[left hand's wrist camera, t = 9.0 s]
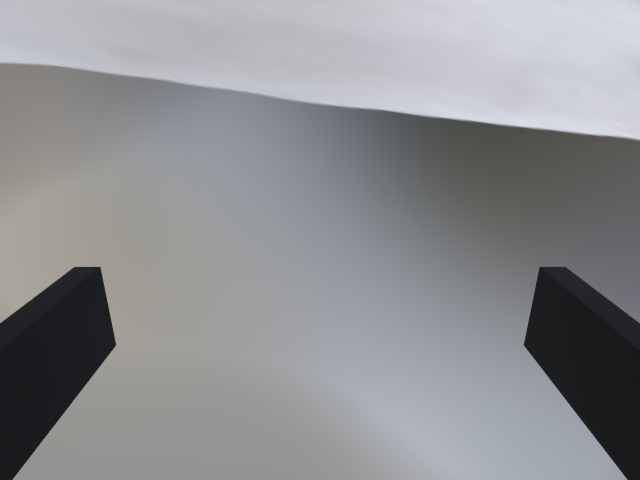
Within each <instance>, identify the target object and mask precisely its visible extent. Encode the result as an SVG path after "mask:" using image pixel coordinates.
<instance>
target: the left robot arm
mask: <svg viewBox="0 0 640 480" xmlns="http://www.w3.org/2000/svg"><path fill="white" fill-rule="evenodd" d="M115 346H116V342H115V337H114V332H113V327H112V322H111V317H110V313H109V308H108V303H107V298H106V293H105V288H104V283H103V278H102V273H101V268H100V267H74V268H73V269H71V270H70V271H69V272H67V273H66V274H65V275H63V276H62V277H61V278H60V279H58V280H57V281H56V282H54V283H53V284H52V285H50V286H49V287H48V288H46V289H45V290H44V291H42V292H41V293H40V294H38V295H37V296H36V297H34V298H33V299H32V300H31V301H29V302H28V303H27V304H25V305H24V306H23V307H21V308H20V309H19V310H17V311H16V312H15V313H13V314H12V315H11V316H9V317H8V318H7V319H5V320H4V321H3V322H1V323H0V480H12V479H13V478H14V477H15V476H16V474H17V473H18V472H19V470H20V469H21V468H22V467H23V465H24V464H25V463H26V461H27V460H28V459H29V457H30V456H31V455H32V454H33V452H34V451H35V450H36V448H37V447H38V446H39V444H40V443H41V442H42V441H43V439H44V438H45V437H46V435H47V434H48V433H49V431H50V430H51V429H52V428H53V426H54V425H55V424H56V422H57V421H58V420H59V419H60V417H61V416H62V415H63V413H64V412H65V411H66V409H67V408H68V407H69V406H70V404H71V403H72V402H73V400H74V399H75V398H76V396H77V395H78V394H79V393H80V391H81V390H82V389H83V387H84V386H85V385H86V384H87V382H88V381H89V380H90V378H91V377H92V376H93V375H94V373H95V372H96V371H97V369H98V368H99V367H100V365H101V364H102V363H103V362H104V360H105V359H106V358H107V356H108V355H109V354H110V352H111V351H112V350H113V349H114V347H115ZM524 346H525V347H526V349H527V350H528V351H529V352H530V354H531V355H532V356H533V358H534V359H535V360H536V361H537V363H538V364H539V365H540V367H541V368H542V369H543V371H544V372H545V373H546V374H547V376H548V377H549V378H550V380H551V381H552V382H553V384H554V385H555V386H556V387H557V389H558V390H559V391H560V393H561V394H562V395H563V397H564V398H565V399H566V400H567V402H568V403H569V404H570V406H571V407H572V408H573V409H574V411H575V412H576V413H577V415H578V416H579V417H580V419H581V420H582V421H583V422H584V424H585V425H586V426H587V428H588V429H589V430H590V432H591V433H592V434H593V435H594V437H595V438H596V439H597V441H598V442H599V443H600V444H601V446H602V447H603V448H604V450H605V451H606V452H607V453H608V455H609V456H610V457H611V459H612V460H613V461H614V463H615V464H616V465H617V466H618V468H619V469H620V470H621V472H622V473H623V474H624V476H625V477H626V478H627V479H628V480H640V323H639V322H637V321H636V320H635V319H633V318H632V317H631V316H629V315H628V314H627V313H625V312H624V311H623V310H621V309H620V308H619V307H617V306H616V305H615V304H613V303H612V302H611V301H609V300H608V299H607V298H605V297H604V296H603V295H602V294H600V293H599V292H598V291H596V290H595V289H594V288H592V287H591V286H590V285H588V284H587V283H586V282H584V281H583V280H582V279H580V278H579V277H578V276H577V275H575V274H574V273H573V272H571V271H570V270H569V269H567V268H566V267H540V268H539V273H538V278H537V283H536V288H535V293H534V298H533V303H532V308H531V313H530V317H529V323H528V327H527V332H526V337H525V342H524Z"/></svg>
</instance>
